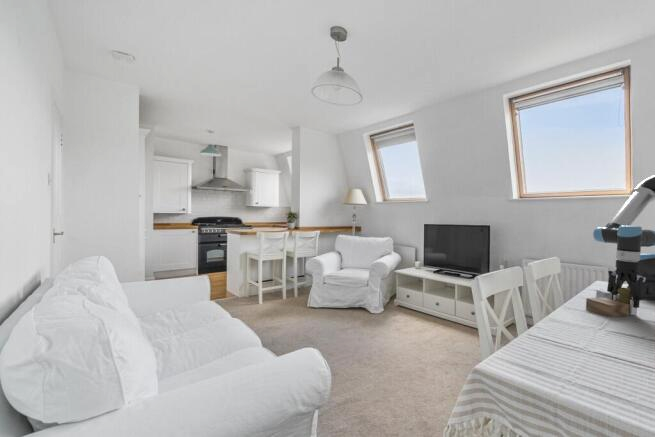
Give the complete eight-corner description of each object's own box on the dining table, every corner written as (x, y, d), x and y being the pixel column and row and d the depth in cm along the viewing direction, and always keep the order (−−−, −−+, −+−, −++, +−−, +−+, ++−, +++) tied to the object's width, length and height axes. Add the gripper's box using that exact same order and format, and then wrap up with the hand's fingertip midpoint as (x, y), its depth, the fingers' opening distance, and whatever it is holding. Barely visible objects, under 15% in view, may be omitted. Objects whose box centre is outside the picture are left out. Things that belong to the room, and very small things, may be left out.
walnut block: (604, 308, 140) (605, 297, 140) (628, 316, 130) (629, 304, 130) (585, 308, 138) (586, 298, 138) (609, 316, 129) (609, 305, 128)
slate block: (606, 302, 149) (607, 290, 149) (615, 305, 144) (616, 293, 144) (595, 301, 150) (596, 289, 150) (603, 304, 145) (604, 292, 145)
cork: (625, 310, 137) (627, 286, 137) (638, 315, 131) (639, 290, 131) (611, 309, 138) (612, 286, 137) (623, 314, 132) (624, 289, 131)
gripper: (598, 256, 142) (595, 304, 143) (646, 264, 123) (642, 320, 124) (611, 256, 143) (608, 304, 144) (661, 264, 124) (657, 319, 126)
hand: (624, 311), depth 134 cm, fingers open, 6 cm apart
